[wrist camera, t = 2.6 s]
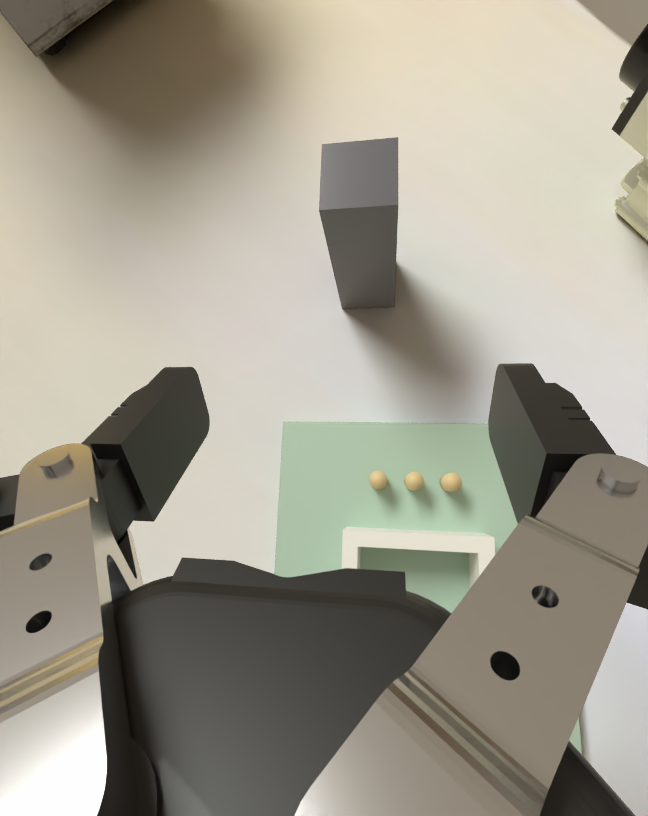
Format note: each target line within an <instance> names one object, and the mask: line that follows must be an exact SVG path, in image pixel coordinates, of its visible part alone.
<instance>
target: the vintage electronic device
mask: <svg viewBox="0 0 648 816" xmlns="http://www.w3.org/2000/svg"><path fill="white" fill-rule="evenodd" d="M112 1H113V0H0V12H1V14H2V15H3V16H4V17H5V19H6V20H7V21H8V22H9V24H10V25H11V26H12V27H13V29H14V30H15V31H16V32H17V34H18V35H19V36H20V37H21V39H22V40H23V41H24V43H25V44H26V45H27V46H28V48H29V49H30V50H31V51H32V52H33V54H34V55H35V56H38V55H39V54H41V53H42V52H43V51H44V52H45V53H46V54H49V55H54V54H58V53H59V52H60V51H61V50H62V49H63V48H64V47H65V46H66V39H65V37H64V36H65V35H67V34H68V33H69V32H71V31H72V30H73V29H75V28H76V27H77V26H79V25H80V24H82V23H83V22H84V21H86V20H87V19H88V18H90V17H91V16H92V15H94V14H95V13H97V12H98V11H99V10H101V9H102V8H103V7H105V6H106V5H108V4H109V3H110V2H112Z"/></svg>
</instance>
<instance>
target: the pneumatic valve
mask: <svg viewBox="0 0 648 816" xmlns="http://www.w3.org/2000/svg"><path fill="white" fill-rule="evenodd" d="M619 78H620V80H621V81H622V82H623V83H624V84H625V85H627V86H628V87H629V88H630V89H632V90H633V91H634V93H633V95H632V96H631V98H630V97H629V98H627V99H625V100H624V101H623V103H622V104H621V105H620V109H621V110H622V113H621V114H620V116H619V118H618V119H617V121H616V123H615V124H614V126H613V128H612V130H613V131H614V132H616V133H617V134H618V135H619V136H620V137H621V138H622V139H624V140H625V141H626V142H627V143H628V144H629V145H631V146H632V147H633V148H634V149H635V150H636V151H638V152H639V153H640V154H641V155H642V156H643V157H644V158H643V159H642V160H641V161H640V162H639V163H637V164H636V165H635V166H634V167H633V168H632V169H631V170H630V171H629V172H628V174H627V175H626V176H625V177H624V179H623V180H622V182H621V185H622V188H623V189H624V190H625V191H626V192H627V193H629V196H628V197H627V198H625V197H622V198H621V197H619V198H618V199H616V201H615V202H616V203H615V206H616V207H617V210H616V212H617V213H618V214H619V215H620V216H621V217H622V218H623V219H624V220H625V221H626V222H628V223H629V224H630V225H631V226H632V227H633V228H634V229H635V230H636V231H637V232H638V233H639V234H640V235H642V236H643V237H644V238H645V239H646V240H647V241H648V24H647V26H646V27H645V28H644V30H643V31H642V32H641V34H640V35H639V36H638V38H637V39H636V41H635V42H634V44H633V45H632V47H631V49H630V50H629V52H628V54H627V55H626V57H625V59H624V61H623V64H622V66H621V69H620V73H619Z"/></svg>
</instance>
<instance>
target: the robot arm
mask: <svg viewBox="0 0 648 816" xmlns="http://www.w3.org/2000/svg"><path fill="white" fill-rule="evenodd" d="M120 406H121V407H118V408H117V409H116V410H115V411H114V412H113V413H112V414H111V416H109V417H108V418H107V419H106V420H105V421H104V422H103V423H102V424H101V425H100V426H99V427H98V428H97V429H96V430H95V431H94V432H93V433H92V434H91V435H90V436H89V437H88V438H87V439H86V440H85V441H84V442H83V443H82V444H67V445H62V446H58V447H55V448H52V449H50V450H47V451H45V452H43V453H41V454H39V455H38V456H36V457H35V458H33V459H32V460H31V461H29V462H28V463H27V464H26V465H25V466H24V467H23V469H22V470H21V472H20V474H19V475H14V476H8V477H3V478H0V816H635V815H634V814H633V813H632V811H631V810H630V809H629V808H628V807H627V806H626V805H625V803H624V802H623V801H622V800H621V799H620V798H619V797H618V795H617V794H616V793H615V792H614V791H613V790H612V789H611V787H610V786H609V785H608V784H607V783H606V782H605V781H604V780H603V778H602V777H601V776H600V775H599V774H598V773H597V772H596V770H595V769H594V768H593V767H592V766H591V765H590V764H589V762H588V761H587V760H586V759H585V758H584V757H583V756H582V754H581V753H580V752H579V751H578V750H577V749H576V748H575V746H574V745H573V744H572V743H571V742H570V741H569V739H570V737H571V734H572V732H573V730H574V727H575V725H576V722H577V720H578V718H579V715H580V713H581V710H582V708H583V706H584V703H585V701H586V698H587V696H588V693H589V691H590V689H591V686H592V684H593V681H594V679H595V677H596V674H597V672H598V669H599V667H600V665H601V662H602V660H603V657H604V655H605V653H606V650H607V648H608V645H609V643H610V641H611V638H612V636H613V633H614V631H615V628H616V626H617V624H618V621H619V619H620V616H621V614H622V612H623V609H624V607H625V604H626V602H627V603H630V604H633V605H636V606H639V607H642V608H646V609H648V467H647V466H645V465H643V464H641V463H639V462H637V461H634V460H632V459H629V458H626V457H623V456H618V455H616V454H615V452H614V451H613V450H612V448H611V447H610V445H609V444H608V443H607V441H606V440H605V438H604V437H603V436H602V434H601V433H600V431H599V430H598V429H597V427H596V426H595V424H594V423H593V422H592V421H590V417H589V416H588V415H587V413H586V412H585V410H582V406H581V405H580V403H579V402H578V401H577V399H576V398H575V396H574V395H573V394H572V393H570V392H569V391H567V390H566V389H564V388H562V387H561V386H559V385H558V384H556V383H545V382H544V380H543V378H542V377H541V375H540V374H539V372H538V371H537V369H536V367H535V366H534V365H533V364H499V365H498V367H497V371H496V375H495V382H494V388H493V394H492V400H491V407H490V413H489V422H488V429H489V438H490V442H491V445H492V448H493V451H494V454H495V457H496V460H497V463H498V466H499V469H500V472H501V475H502V478H503V481H504V484H505V487H506V490H507V493H508V496H509V499H510V502H511V505H512V508H513V511H514V514H515V517H516V520H517V523H518V525H517V526H516V528H515V529H514V530H513V532H512V533H511V534H510V536H509V537H508V538H507V540H506V541H505V542H504V544H503V545H502V546H501V548H500V549H499V550H498V552H497V553H496V554H495V556H494V557H493V558H492V560H491V561H490V562H489V564H488V565H487V567H486V568H485V569H484V571H483V572H482V573H481V575H480V576H479V577H478V579H477V580H476V581H475V583H474V584H473V585H472V587H471V588H470V589H469V591H468V592H467V593H466V595H465V596H464V597H463V599H462V600H461V601H460V603H459V604H458V606H457V607H456V608H455V610H454V611H453V612H452V613H450V612H449V611H448V610H446V609H445V608H443V607H442V606H440V605H438V604H436V603H435V602H433V601H431V600H429V599H427V598H425V597H422V596H420V595H418V594H415V593H412V592H409V591H406V579H405V572H401V571H385V570H369V569H353V568H344V569H338V570H332V571H326V572H320V573H314V574H308V575H302V576H296V577H281V576H278V575H275V574H272V573H269V572H266V571H263V570H260V569H257V568H253V567H250V566H247V565H244V564H241V563H238V562H235V561H227V560H211V559H195V558H182V559H181V561H180V563H179V565H178V567H177V569H176V571H175V573H174V575H173V576H170V577H166V578H163V579H159V580H156V581H153V582H150V583H147V584H145V585H143V582H142V577H141V572H140V568H139V563H138V559H137V554H136V550H135V545H134V540H133V536H132V534H131V532H130V529H129V526H130V524H131V523H132V521H133V520H134V521H155V519H156V517H157V516H158V514H159V513H160V511H161V509H162V508H163V506H164V504H165V503H166V501H167V500H168V498H169V496H170V495H171V493H172V491H173V490H174V488H175V486H176V485H177V483H178V482H179V480H180V478H181V477H182V475H183V473H184V472H185V470H186V469H187V467H188V465H189V464H190V462H191V460H192V459H193V457H194V456H195V454H196V452H197V451H198V449H199V447H200V446H201V444H202V443H203V441H204V439H205V438H206V436H207V434H208V430H209V413H208V410H207V406H206V402H205V399H204V395H203V391H202V388H201V384H200V381H199V377H198V374H197V372H196V370H195V369H194V368H193V367H166V368H164V369H162V370H161V371H160V372H159V373H158V374H157V375H156V376H155V377H154V379H153V380H152V381H151V382H150V383H149V384H148V385H146V386H144V387H143V388H141V389H139V390H138V391H136V392H134V393H132V394H131V395H130V396H129V397H128V398H127V399H126V400H125V401H124V402H123V403H122V404H121V405H120Z"/></svg>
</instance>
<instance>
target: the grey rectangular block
mask: <svg viewBox="0 0 648 816" xmlns="http://www.w3.org/2000/svg"><path fill="white" fill-rule="evenodd" d="M319 212H320V216H321V220H322V224H323V229H324V233H325V237H326V241H327V246H328V250H329V254H330V259H331V263H332V267H333V271H334V276H335V280H336V284H337V288H338V293H339V297H340V301H341V305H342V309H351V308H382V307H394V301H395V275H396V248H397V222H398V137H397V138H386V139H375V140H365V141H354V142H343V143H332V144H322V157H321V179H320V202H319Z"/></svg>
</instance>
